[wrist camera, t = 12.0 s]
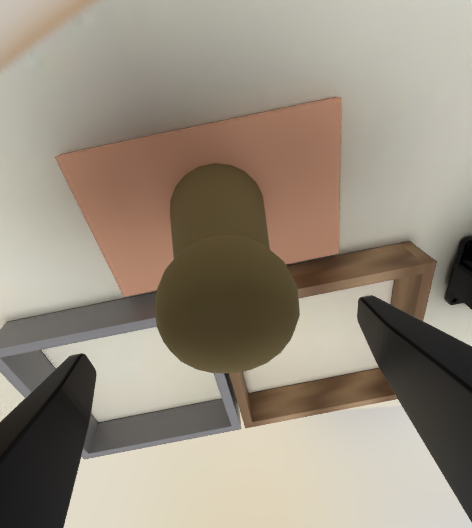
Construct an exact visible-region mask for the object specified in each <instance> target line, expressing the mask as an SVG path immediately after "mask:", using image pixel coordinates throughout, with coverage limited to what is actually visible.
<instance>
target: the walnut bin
mask: <svg viewBox="0 0 472 528" xmlns="http://www.w3.org/2000/svg"><path fill="white" fill-rule="evenodd" d="M436 263H437V261H435V260H434V259H433V258H431V257H430V256H429V255H427V254H426V253H425V252H423V251H422V250H421V249H420V248H418V247H417V246H416V245H414V244H413V243H412V242H410V241H408V242H403V243H398V244H393V245H388V246H383V247H378V248H373V249H368V250H363V251H358V252H354V253H349V254H344V255H339V256H334V257H329V258H324V259H319V260H314V261H309V262H304V263H299V264H294V265H289V266H287V268H288V270H289V272H290V273H291V275H292V277H293V279H294V281H295V283H296V285H297V288H298V298H303V297H308V296H313V295H318V294H323V293H328V292H333V291H338V290H343V289H348V288H353V287H358V286H363V285H368V284H373V283H378V282H383V281H388V280H393V279H394V285H393V292H392V299H391V305H392V306H394V307H396V308H398V309H400V310H402V311H404V312H406V313H408V314H410V315H412V316H414V317H416V318H417V319H419V320H421V321H423V319H424V315H425V310H426V306H427V302H428V297H429V293H430V289H431V284H432V280H433V276H434V271H435V267H436ZM229 375H230V378H231V382H232V385H233V388H234V392H235V395H236V398H237V402H238V405H239V408H240V412H241V415H242V418H243V422H244V425H245V428H249V427H255V426H260V425H265V424H270V423H275V422H281V421H286V420H291V419H296V418H301V417H307V416H312V415H317V414H322V413H327V412H333V411H338V410H343V409H348V408H353V407H358V406H364V405H369V404H374V403H379V402H384V401H390V400H395V399H398V398H397V397H396V395H395V393H394V392H393V390H392V388H391V387H390V385H389V383H388V382H387V380H386V378H385V377H384V375H383V373H382V371H381V370H380V368H378V369H373V370H368V371H363V372H358V373H352V374H347V375H342V376H337V377H332V378H327V379H322V380H316V381H311V382H306V383H301V384H296V385H291V386H286V387H280V388H275V389H270V390H265V391H260V392H255V393H250V394H248V391H247V387H246V383H245V379H244V375H243V371H242V372H237V373H229Z"/></svg>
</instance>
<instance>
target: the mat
mask: <svg viewBox="0 0 472 528" xmlns="http://www.w3.org/2000/svg"><path fill="white" fill-rule="evenodd" d="M340 146H341V97H333V98H328V99H323V100H319V101H314V102H309V103H304V104H299V105H295V106H290V107H285V108H280V109H276V110H271V111H266V112H261V113H256V114H252V115H247V116H242V117H237V118H232V119H228V120H223V121H218V122H213V123H209V124H204V125H199V126H194V127H189V128H185V129H180V130H175V131H170V132H165V133H161V134H156V135H151V136H146V137H142V138H137V139H132V140H127V141H122V142H118V143H113V144H108V145H103V146H98V147H94V148H89V149H84V150H79V151H75V152H70V153H65V154H61V155H59V156H57V157H55V158H56V160H57V162H58V165H59V167H60V169H61V171H62V173H63V175H64V177H65V179H66V181H67V183H68V185H69V187H70V189H71V191H72V193H73V195H74V197H75V199H76V201H77V203H78V205H79V207H80V209H81V211H82V213H83V215H84V217H85V219H86V221H87V223H88V225H89V227H90V229H91V231H92V233H93V235H94V237H95V239H96V241H97V243H98V245H99V247H100V249H101V251H102V254H103V256H104V258H105V260H106V262H107V264H108V266H109V268H110V270H111V272H112V274H113V276H114V278H115V280H116V282H117V284H118V286H119V288H120V290H121V292H122V294H123V296H124V297H126V296H131V295H136V294H141V293H146V292H151V291H156V290H157V288H158V285H159V283H160V281H161V278H162V276H163V273H164V271H165V269H166V268H167V267H168V265H169V264H170V263H171V262H172V261H173V260H174V258H173V245H172V233H171V221H170V200H171V197H172V194H173V192H174V189H175V186H176V185H177V184H178V183H179V182H180V180H181V179H182V178H183V177H184V176H185V174H187V173H189V172H191V171H192V170H194V169H196V168H197V167H199V166H203V165H208V164H213V163H219V164H228V165H232V166H234V167H236V168H239V169H241V170H243V171H245V172H246V173H247V174H248V175H249V176H250V177H251V178H252V179H253V180H254V181H255V182H256V183H257V185H258V187H259V189H260V191H261V193H262V195H263V200H264V208H265V215H266V223H267V231H268V239H269V246H270V250H271V251H272V252H273V253H275V254H276V255H277V256H278V257H279V258H280V259H282V260H283V261H284V262H285V264H290V263H295V262H300V261H305V260H310V259H315V258H320V257H325V256H330V255H335V254H339V211H340Z"/></svg>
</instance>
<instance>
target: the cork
mask: <svg viewBox="0 0 472 528" xmlns="http://www.w3.org/2000/svg"><path fill="white" fill-rule="evenodd" d="M170 221H171V233H172V245H173V258H174V260H173V261H172V262H171V263H170V264H169V265H168V267H167V268H166V269H165V271H164V273H163V276H162V278H161V281H160V283H159V285H158V288H157V292H156V296H155V318H156V325H157V328H158V330H159V333H160V335H161V337H162V339H163V341H164V343H165V344H166V346H167V347H168V348H169V350H170V351H171V352H172V353H173V354H174V355H175V356H176V357H177V358H178V359H179V360H180V361H181V362H183V363H185V364H187V365H189V366H191V367H193V368H195V369H198V370H202V371H206V372H211V373H237V372H242V371H247V370H251V369H253V368H256V367H258V366H260V365H263V364H265V363H267V362H269V361H270V360H271V359H273V358H274V357H275V356H277V355H278V354H279V353H281V351H282V350H283V349H284V348H285V346H286V345H287V344H288V342H289V341H290V340H291V337H292V335H293V333H294V330H295V327H296V324H297V321H298V318H299V300H298V288H297V285H296V283H295V281H294V279H293V277H292V275H291V273H290V272H289V270H288V268H287V266H286V264H285V262H284V261H283V260H282V259H280V258H279V257H278V256H277V255H276V254H275V253H273V252H272V251H271V250H270V246H269V239H268V231H267V223H266V215H265V208H264V200H263V195H262V193H261V191H260V189H259V187H258V185H257V183H256V182H255V181H254V180H253V179H252V178H251V177H250V176H249V175H248V174H247V173H246V172H245V171H243V170H241V169H239V168H236V167H234V166H232V165H228V164H219V163H213V164H208V165H203V166H199V167H197V168H196V169H194V170H192V171H191V172H189V173H187V174H185V176H184V177H183V178H182V179H181V180H180V182H179V183H178V184H177V185H176V186H175V189H174V192H173V194H172V197H171V200H170Z"/></svg>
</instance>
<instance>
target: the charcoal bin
mask: <svg viewBox="0 0 472 528" xmlns="http://www.w3.org/2000/svg"><path fill="white" fill-rule="evenodd" d="M155 296H156V292H154V293H149V294H144V295H139V296H134V297H129V298H124V299H119V300H114V301H109V302H104V303H99V304H94V305H89V306H84V307H79V308H74V309H70V310H65V311H60V312H55V313H50V314H45V315H40V316H35V317H30V318H25V319H20V320H15V321H10V322H6V323H5V325H4V326H3V327H2V328H1V329H0V372H1V373H2V374H3V375H4V376H5V378H6V379H7V380H8V381H9V382H10V383H11V384H12V385H13V386H14V387H15V388H16V389H17V390H18V391H19V392H20V393H21V394H22V395H23V396H24V397H25V398H26V397H27V396H28V395H29V394H30V393H31V392H32V391H34V390H35V389H36V388H37V387H38V386H39V385H40V384H41V383H42V382H43V381H44V380H45V379H46V378H47V377H48V376H49V375H50V374H51V373H52V372H53V371H54V370H56V369H55V368H54V367H53V365H52V364H51V363H50V362H49V360H48V359H47V358H46V357H45V355H44V354H43V353H42V352H41V349H46V348H51V347H57V346H62V345H67V344H72V343H77V342H82V341H87V340H92V339H97V338H102V337H107V336H112V335H117V334H122V333H127V332H132V331H137V330H142V329H147V328H152V327H157V325H156V318H155ZM214 376H215V379H216V382H217V385H218V388H219V391H220V394H221V396H222V399H219V400H214V401H208V402H203V403H198V404H193V405H188V406H183V407H178V408H172V409H167V410H162V411H157V412H152V413H147V414H142V415H136V416H131V417H126V418H121V419H116V420H111V421H106V422H100V423H98V422H97V421H96V420H95V418H94V417H93V416H92V415H91V416H90V422H89V427H88V431H87V435H86V439H85V443H84V447H83V451H82V455H81V457H82V458H83V459H89V458H94V457H99V456H104V455H109V454H114V453H120V452H125V451H130V450H135V449H140V448H145V447H151V446H156V445H161V444H166V443H172V442H177V441H182V440H187V439H192V438H198V437H203V436H208V435H213V434H218V433H224V432H229V431H234V430H239V429H241V421H240V412H239V405H238V402H237V398H236V395H235V392H234V388H233V385H232V382H231V378H230V375H229V373H214Z"/></svg>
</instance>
